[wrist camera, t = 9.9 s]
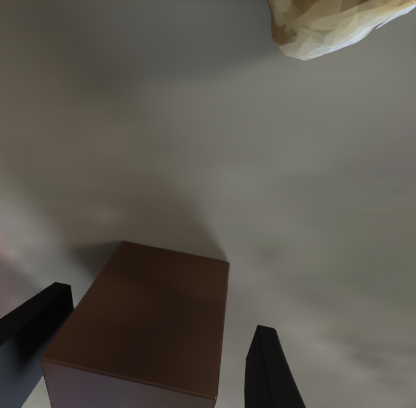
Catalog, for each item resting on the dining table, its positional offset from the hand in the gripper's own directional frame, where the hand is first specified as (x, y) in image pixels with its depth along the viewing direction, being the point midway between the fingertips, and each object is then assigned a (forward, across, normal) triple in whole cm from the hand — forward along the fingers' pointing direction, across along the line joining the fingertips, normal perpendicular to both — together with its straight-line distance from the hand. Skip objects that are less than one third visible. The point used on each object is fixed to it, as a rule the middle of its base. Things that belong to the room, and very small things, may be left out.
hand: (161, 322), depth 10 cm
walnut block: (+2, 0, 0) cm, 2 cm away
